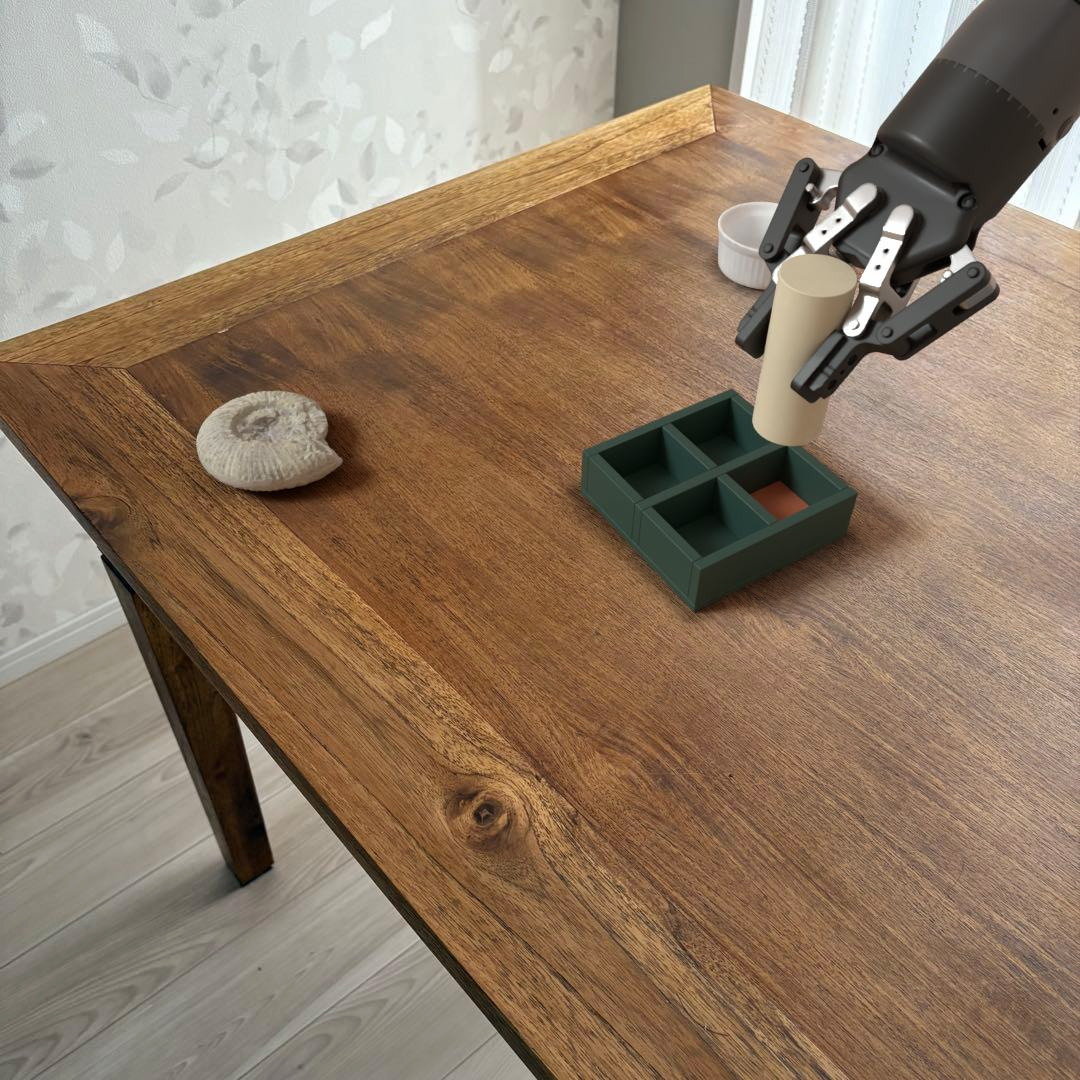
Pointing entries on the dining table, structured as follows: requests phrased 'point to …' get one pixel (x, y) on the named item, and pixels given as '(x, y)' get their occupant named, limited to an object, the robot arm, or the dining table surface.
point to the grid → (714, 498)
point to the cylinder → (800, 344)
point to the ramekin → (745, 243)
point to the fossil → (267, 442)
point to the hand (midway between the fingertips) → (773, 371)
